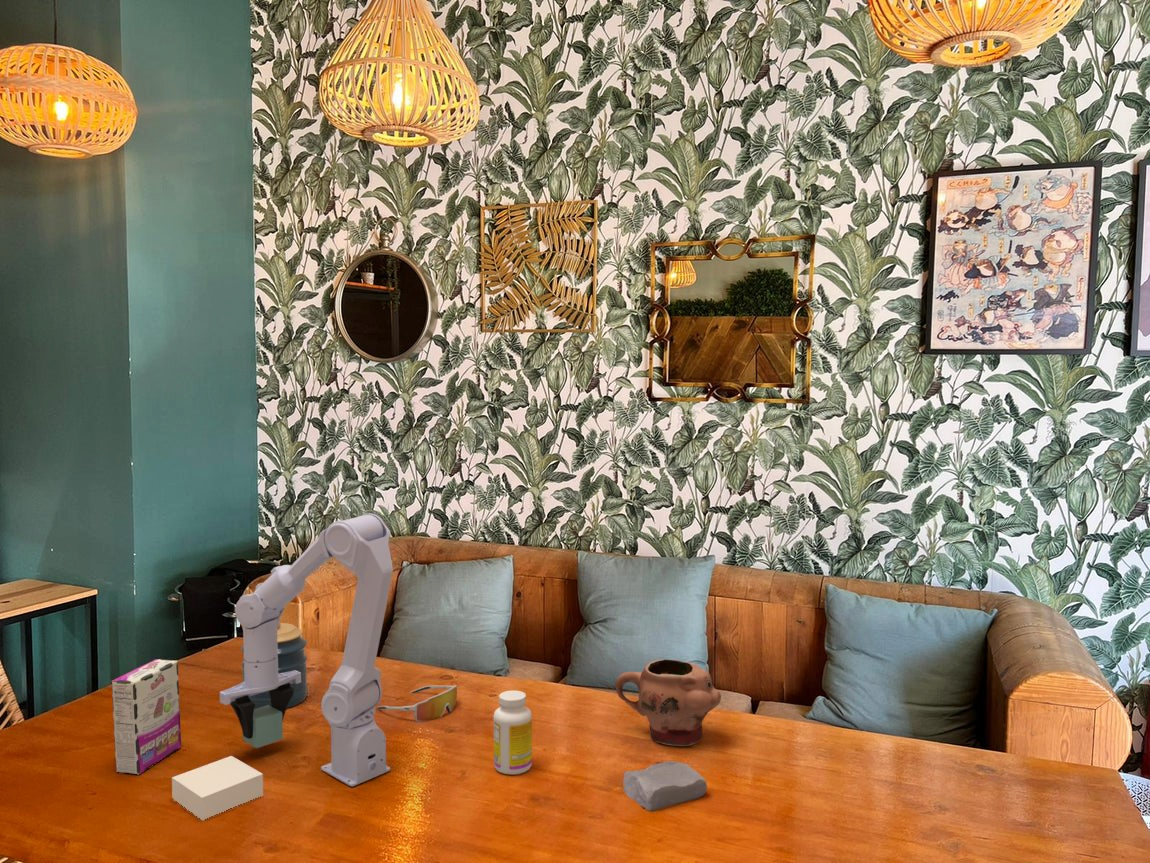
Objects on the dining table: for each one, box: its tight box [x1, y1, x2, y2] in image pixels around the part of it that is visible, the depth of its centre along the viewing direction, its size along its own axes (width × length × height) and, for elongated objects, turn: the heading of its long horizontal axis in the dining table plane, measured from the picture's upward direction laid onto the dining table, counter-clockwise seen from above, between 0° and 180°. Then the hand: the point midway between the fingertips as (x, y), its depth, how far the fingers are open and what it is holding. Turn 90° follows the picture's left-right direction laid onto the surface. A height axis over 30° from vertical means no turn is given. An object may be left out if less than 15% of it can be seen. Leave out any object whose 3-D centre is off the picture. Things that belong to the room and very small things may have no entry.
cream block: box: [171, 755, 264, 822], centre depth 133 cm, size 10×10×4 cm
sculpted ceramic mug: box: [614, 658, 722, 747], centre depth 156 cm, size 20×12×14 cm, turn 80°
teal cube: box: [242, 705, 284, 749], centre depth 149 cm, size 5×5×5 cm
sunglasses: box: [376, 684, 458, 723], centre depth 170 cm, size 14×15×5 cm
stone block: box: [622, 760, 708, 812], centre depth 136 cm, size 12×5×10 cm
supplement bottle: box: [493, 690, 533, 776], centre depth 144 cm, size 7×7×13 cm
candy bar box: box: [111, 658, 182, 776], centre depth 146 cm, size 11×5×16 cm, turn 168°
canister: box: [240, 619, 308, 709], centre depth 173 cm, size 13×13×18 cm
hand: (262, 731), depth 149 cm, fingers closed on teal cube, 5 cm apart
